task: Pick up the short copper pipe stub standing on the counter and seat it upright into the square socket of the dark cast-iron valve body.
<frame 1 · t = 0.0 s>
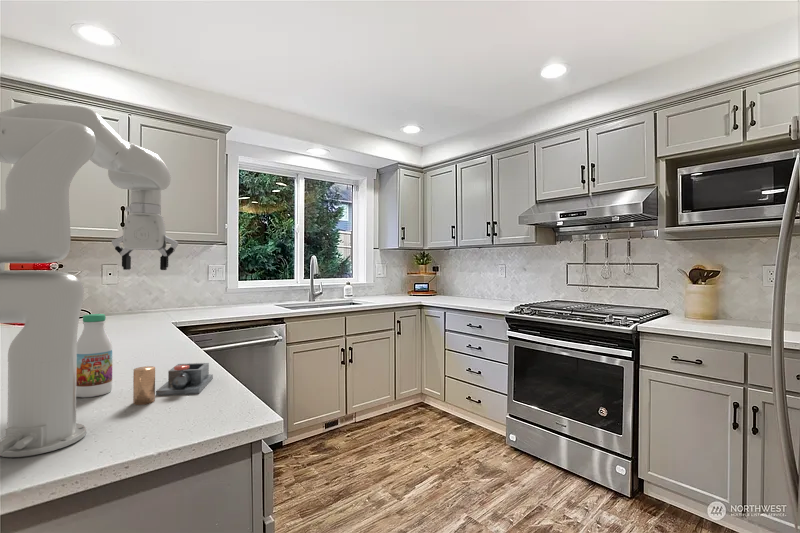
hand: (145, 269, 119), 31 cm above the worktop, tool pointing down, fingers open, 9 cm apart
milk bottle: (93, 394, 103), on the worktop
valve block: (186, 386, 110), on the worktop
pipe stub: (144, 401, 97), on the worktop
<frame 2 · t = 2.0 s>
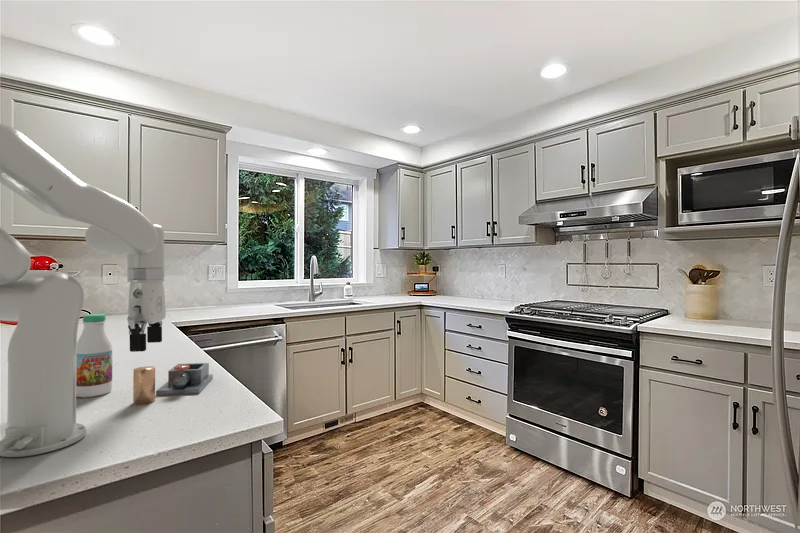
hand: (146, 346, 98), 13 cm above the worktop, tool pointing down, fingers open, 9 cm apart
nothing on the worktop moved.
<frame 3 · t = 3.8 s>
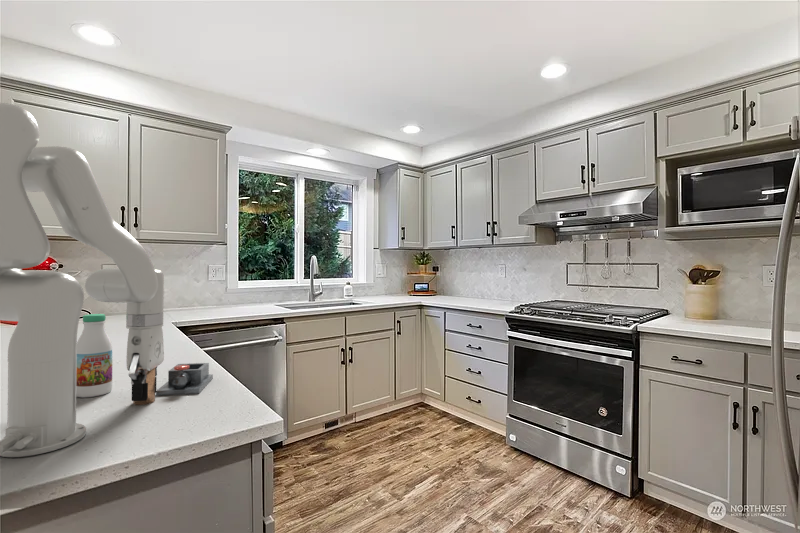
hand: (144, 396, 97), 1 cm above the worktop, tool pointing down, fingers closed on pipe stub, 4 cm apart
pipe stub: (144, 401, 97), on the worktop, touching gripper
everything else where it was.
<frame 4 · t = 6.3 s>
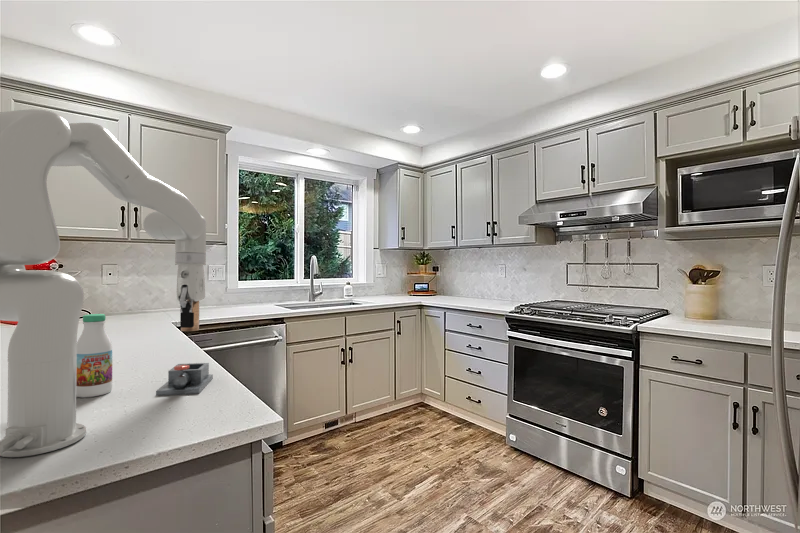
hand: (190, 325, 112), 16 cm above the worktop, tool pointing down, fingers closed on pipe stub, 4 cm apart
pipe stub: (190, 330, 112), point 15 cm above the worktop, touching gripper
everything else where it was.
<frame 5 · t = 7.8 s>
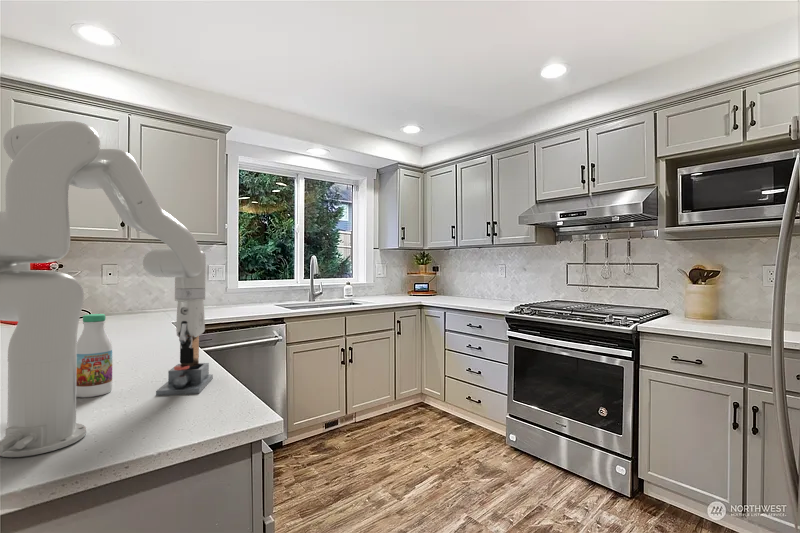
hand: (189, 360, 112), 7 cm above the worktop, tool pointing down, fingers closed on pipe stub, 4 cm apart
pipe stub: (189, 364, 112), point 5 cm above the worktop, touching gripper
everything else where it was.
when the fingers open (5 cm above the worktop, at t = 8.9 s): pipe stub drops 3 cm, resting on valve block.
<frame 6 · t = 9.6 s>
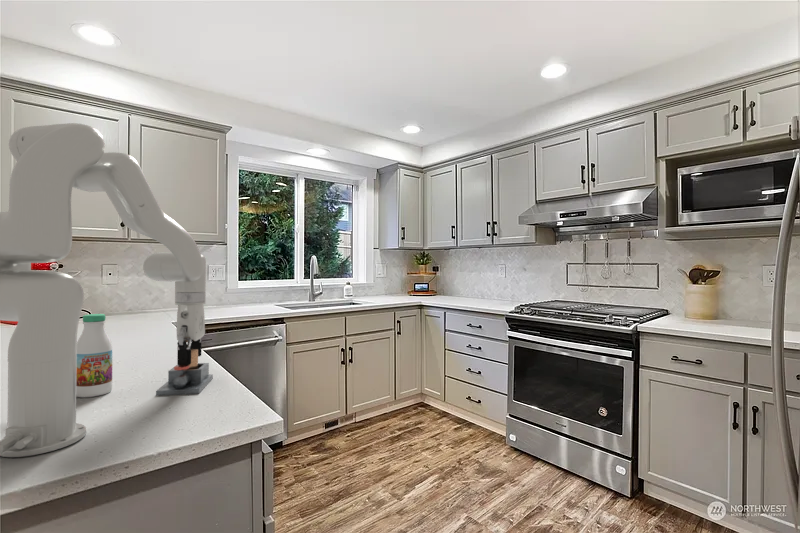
hand: (189, 360, 112), 6 cm above the worktop, tool pointing down, fingers open, 9 cm apart
pipe stub: (188, 379, 112), point 1 cm above the worktop, touching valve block
everything else where it was.
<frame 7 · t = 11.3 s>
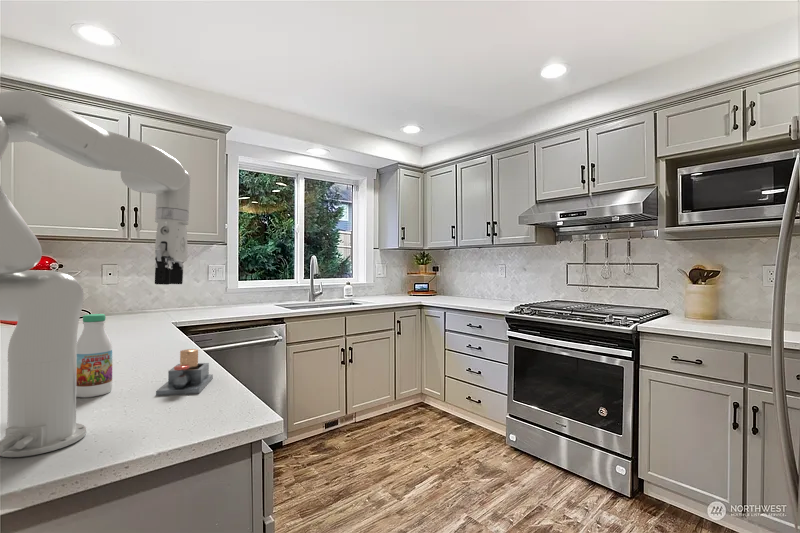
hand: (169, 284, 104), 28 cm above the worktop, tool pointing down, fingers open, 9 cm apart
nothing on the worktop moved.
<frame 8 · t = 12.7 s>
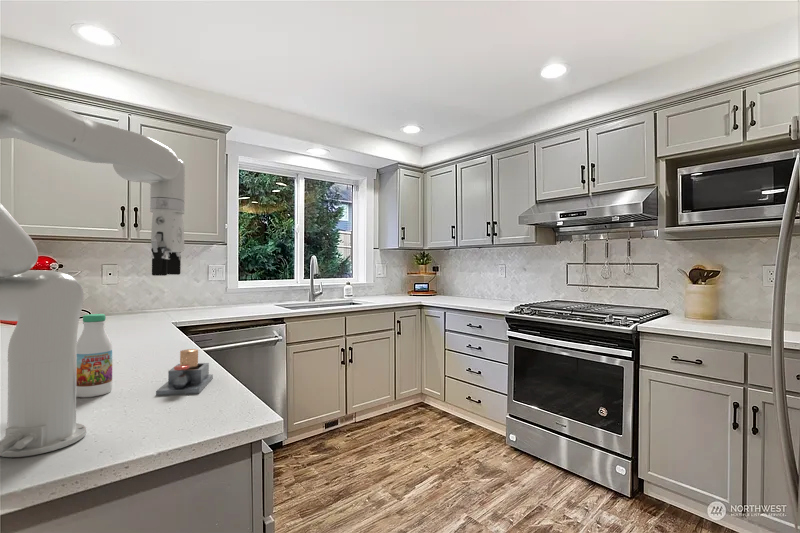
hand: (166, 274, 103), 30 cm above the worktop, tool pointing down, fingers open, 9 cm apart
nothing on the worktop moved.
at the end: pipe stub 0.2 cm from the target spot on the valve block, point 1.2 cm above the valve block's base; pipe stub tilted 0°; the gripper is holding nothing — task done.
